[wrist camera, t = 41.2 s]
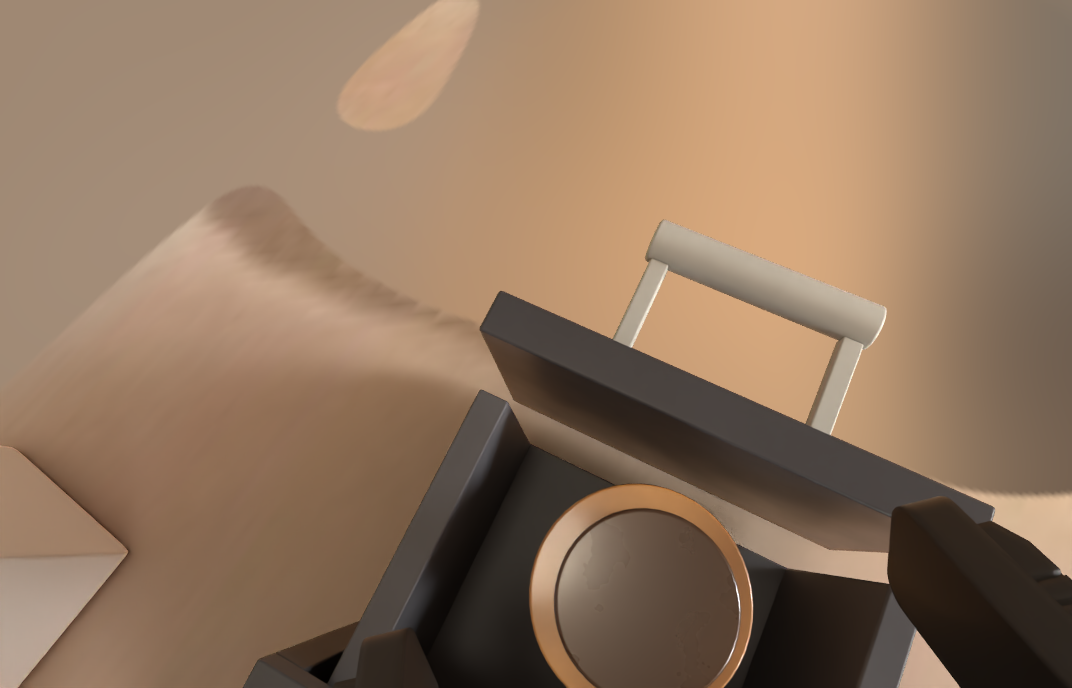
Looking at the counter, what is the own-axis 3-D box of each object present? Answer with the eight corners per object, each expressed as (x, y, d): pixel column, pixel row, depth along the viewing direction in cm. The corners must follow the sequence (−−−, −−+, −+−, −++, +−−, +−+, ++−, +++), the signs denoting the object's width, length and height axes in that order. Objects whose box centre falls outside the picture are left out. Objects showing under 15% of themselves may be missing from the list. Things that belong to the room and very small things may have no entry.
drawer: (583, 260, 26) (585, 127, 18) (888, 387, 24) (1057, 305, 15) (334, 753, 22) (177, 893, 13) (682, 969, 19) (763, 1306, 11)
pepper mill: (522, 610, 21) (480, 664, 12) (583, 478, 22) (585, 438, 13) (657, 682, 20) (718, 798, 11) (713, 541, 22) (810, 544, 13)
